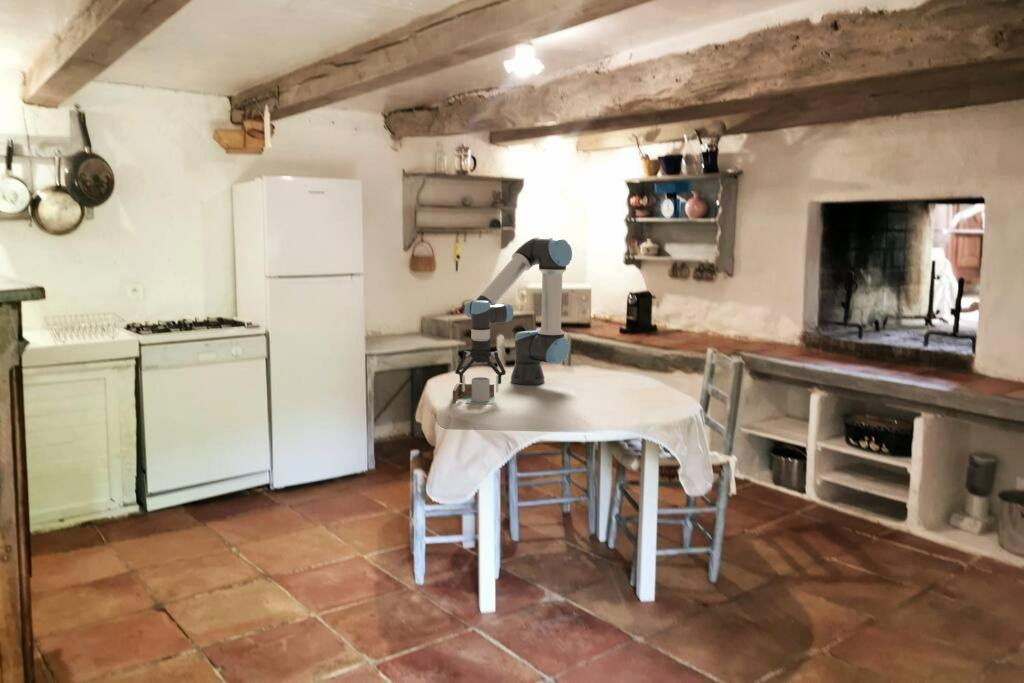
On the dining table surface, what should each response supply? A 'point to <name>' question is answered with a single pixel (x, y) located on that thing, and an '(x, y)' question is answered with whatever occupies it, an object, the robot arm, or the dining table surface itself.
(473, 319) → the robot arm
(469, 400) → the mat
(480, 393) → the cup
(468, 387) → the corner walls
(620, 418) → the dining table surface
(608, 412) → the dining table surface
